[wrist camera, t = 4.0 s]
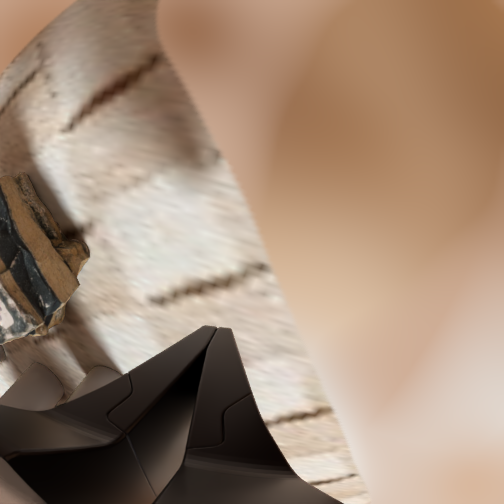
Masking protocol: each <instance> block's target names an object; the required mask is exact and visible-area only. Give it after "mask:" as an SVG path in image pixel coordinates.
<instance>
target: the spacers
mask: <svg viewBox="0 0 504 504" xmlns="http://www.w3.org/2000/svg"><path fill="white" fill-rule="evenodd" d="M4 360H5V353H4V350H3V347H2V345H0V364H1V363H2V362H3V361H4ZM120 376H122V375H120V374H119V373H118V372H116V371H114V370H112V369H110V368H108V367H104V366H95V367H93V368H92V369H91V370H90V372H89V373H88V374H87V375H86V377H85V378H84V379H83V381H82V382H81V383H80V384H79V386H78V387H77V388H76V390H75V391H74V392H73V393H72V395H71V396H70V397H69V399H68V400H67V401H66V403H67V402H69V401H71V400H74V399H76V398H78V397H80V396H83V395H85V394H87V393H90V392H92V391H94V390H96V389H98V388H100V387H102V386H104V385H106V384H108V383H110V382H112V381H113V380H115V379H117V378H119V377H120ZM63 394H64V389H63V387H62V385H61V383H60V381H59V380H58V378H57V377H56V376H55V375H54V374H53V373H52V372H51V371H50V370H49V369H48V368H46V367H45V366H43V365H42V364H39V363H33V364H32V365H31V366H30V367H29V368H28V369H27V370H26V371H25V372H24V373H23V374H22V375H21V377H20V378H19V379H18V380H17V381H16V382H15V383H14V384H13V385H12V386H11V387H10V388H9V389H8V390H7V391H6V392H5V394H4V395H3V396H2V397H1V398H0V404H1V405H5V406H10V407H14V408H19V409H24V410H30V411H43V410H48V409H52V408H53V407H54V406H55V405H56V404H57V402H58V401H59V400H60V398H61V397H62V396H63Z"/></svg>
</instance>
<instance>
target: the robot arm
mask: <svg viewBox="0 0 504 504" xmlns="http://www.w3.org/2000/svg"><path fill="white" fill-rule="evenodd" d="M0 504H344V503H342V502H340V501H338V500H336V499H334V498H333V497H331V496H329V495H327V494H325V493H324V492H322V491H320V490H319V489H317V488H315V487H314V486H312V485H310V484H309V483H307V482H305V481H304V480H302V479H301V478H300V477H299V476H298V475H297V474H296V473H295V472H294V470H293V469H292V468H291V466H290V465H289V463H288V462H287V460H286V459H285V457H284V455H283V454H282V452H281V450H280V449H279V447H278V445H277V444H276V442H275V440H274V439H273V437H272V435H271V434H270V432H269V430H268V428H267V427H266V425H265V423H264V421H263V419H262V417H261V414H260V412H259V409H258V407H257V404H256V402H255V399H254V396H253V393H252V390H251V387H250V384H249V381H248V378H247V375H246V372H245V369H244V366H243V363H242V360H241V357H240V354H239V351H238V347H237V344H236V341H235V338H234V335H233V332H232V329H231V328H223V327H219V328H217V327H215V326H206V325H205V326H202V327H201V328H199V329H198V330H196V331H195V332H193V333H191V334H190V335H188V336H187V337H185V338H183V339H182V340H180V341H179V342H177V343H175V344H174V345H172V346H170V347H169V348H167V349H166V350H164V351H162V352H161V353H159V354H157V355H156V356H154V357H152V358H151V359H149V360H147V361H146V362H144V363H142V364H141V365H139V366H137V367H136V368H134V369H132V370H131V371H129V372H128V373H126V374H124V375H122V376H120V377H119V378H117V379H115V380H113V381H112V382H110V383H108V384H106V385H104V386H102V387H100V388H98V389H96V390H94V391H92V392H90V393H87V394H85V395H83V396H80V397H78V398H76V399H74V400H71V401H69V402H67V403H64V404H62V405H59V406H57V407H54V408H52V409H48V410H43V411H30V410H24V409H19V408H14V407H10V406H5V405H1V404H0Z"/></svg>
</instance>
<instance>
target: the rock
mask: <svg viewBox="0 0 504 504" xmlns="http://www.w3.org/2000/svg"><path fill="white" fill-rule="evenodd" d="M89 257H90V255H89V252H88V248H87V246H86V244H85V243H83V242H80V241H78V240H74V239H73V240H71V241H70V240H68V239H67V238H66V236H65V235H64V233H63V232H62V231H61V229H60V227H59V225H58V223H57V222H55V221H54V219H53V218H52V215H51V213H50V212H49V210H48V209H47V208H46V206H45V205H44V204H43V203H42V202H41V200H40V199H39V198H38V197H37V195H36V193H35V190H34V188H33V186H32V183H31V181H30V179H29V177H28V175H26V174H25V172H24V173H23V172H21V174H20V173H19V174H18V175H17V176H16V177H14V178H12V177H10V176H4V177H2V178H0V345H3V344H5V343H7V342H11V341H12V340H15V339H19V338H22V337H25V336H28V335H30V336H33V337H34V336H42V335H47V333H48V330H49V328H51V327H52V326H54V325H58V324H60V323H61V322H62V321H63V319H64V316H65V307H66V302H67V301H68V300H69V299H70V297H71V295H72V293H73V292H74V291H75V290H76V289H77V288H78V286H79V285H80V284H79V281H78V279H77V275H78V274H79V272H80V271H81V269H82V267H83V265H84V264H85V263H86V262H87V260H88V259H89Z"/></svg>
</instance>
